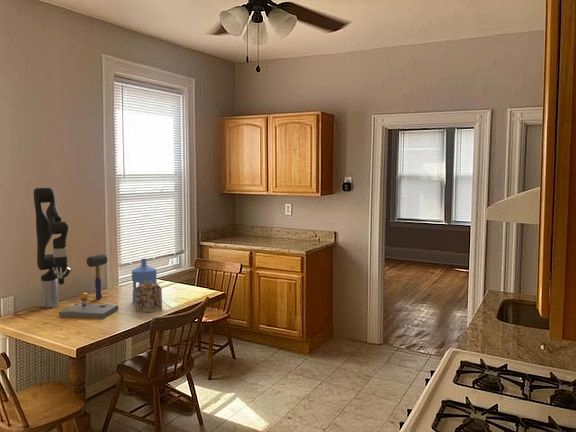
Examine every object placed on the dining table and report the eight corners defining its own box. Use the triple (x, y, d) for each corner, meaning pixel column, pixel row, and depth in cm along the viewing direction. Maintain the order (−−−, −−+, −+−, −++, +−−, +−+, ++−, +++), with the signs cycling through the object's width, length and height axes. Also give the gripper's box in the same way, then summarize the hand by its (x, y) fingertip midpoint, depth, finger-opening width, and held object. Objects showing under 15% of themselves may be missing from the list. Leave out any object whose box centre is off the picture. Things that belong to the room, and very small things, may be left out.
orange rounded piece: (79, 306, 309) (78, 293, 308) (82, 304, 313) (82, 292, 312) (85, 306, 308) (85, 294, 307) (89, 305, 312) (88, 292, 311)
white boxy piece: (68, 311, 298) (68, 305, 298) (72, 309, 303) (72, 303, 303) (77, 311, 298) (77, 305, 297) (82, 309, 303) (82, 303, 302)
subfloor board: (59, 316, 298) (58, 311, 298) (75, 308, 316) (75, 303, 315) (103, 318, 294) (103, 313, 294) (118, 309, 312) (118, 305, 312)
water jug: (154, 296, 343) (153, 256, 340) (159, 302, 329) (158, 260, 326) (131, 299, 336) (129, 258, 334) (134, 305, 322) (133, 262, 320)
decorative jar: (162, 308, 314) (161, 280, 312) (149, 313, 304) (148, 284, 302) (148, 306, 319) (147, 278, 318) (134, 311, 309) (133, 282, 307)
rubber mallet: (95, 302, 331) (93, 256, 328) (87, 300, 334) (85, 255, 331) (110, 297, 342) (108, 253, 339) (102, 296, 345) (100, 253, 342)
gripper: (45, 256, 296) (47, 285, 297) (66, 256, 294) (68, 286, 296) (53, 254, 303) (54, 282, 305) (74, 254, 301) (75, 283, 303)
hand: (61, 284), depth 300 cm, fingers closed
